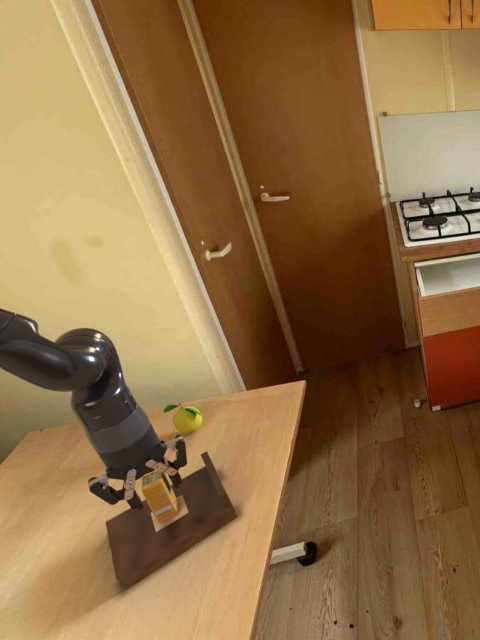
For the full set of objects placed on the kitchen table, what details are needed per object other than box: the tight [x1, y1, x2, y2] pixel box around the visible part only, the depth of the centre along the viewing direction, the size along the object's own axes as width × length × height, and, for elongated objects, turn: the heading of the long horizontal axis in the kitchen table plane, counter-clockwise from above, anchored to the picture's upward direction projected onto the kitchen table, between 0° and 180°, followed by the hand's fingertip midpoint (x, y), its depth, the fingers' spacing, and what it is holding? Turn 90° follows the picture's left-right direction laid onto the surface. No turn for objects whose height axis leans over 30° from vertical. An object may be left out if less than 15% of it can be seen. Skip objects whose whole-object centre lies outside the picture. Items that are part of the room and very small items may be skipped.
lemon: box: [163, 400, 203, 434], centre depth 103 cm, size 7×6×10 cm
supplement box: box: [140, 470, 179, 523], centre depth 80 cm, size 3×3×10 cm
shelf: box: [105, 451, 239, 591], centre depth 83 cm, size 18×14×8 cm
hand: (159, 495), depth 80 cm, fingers open, 5 cm apart
